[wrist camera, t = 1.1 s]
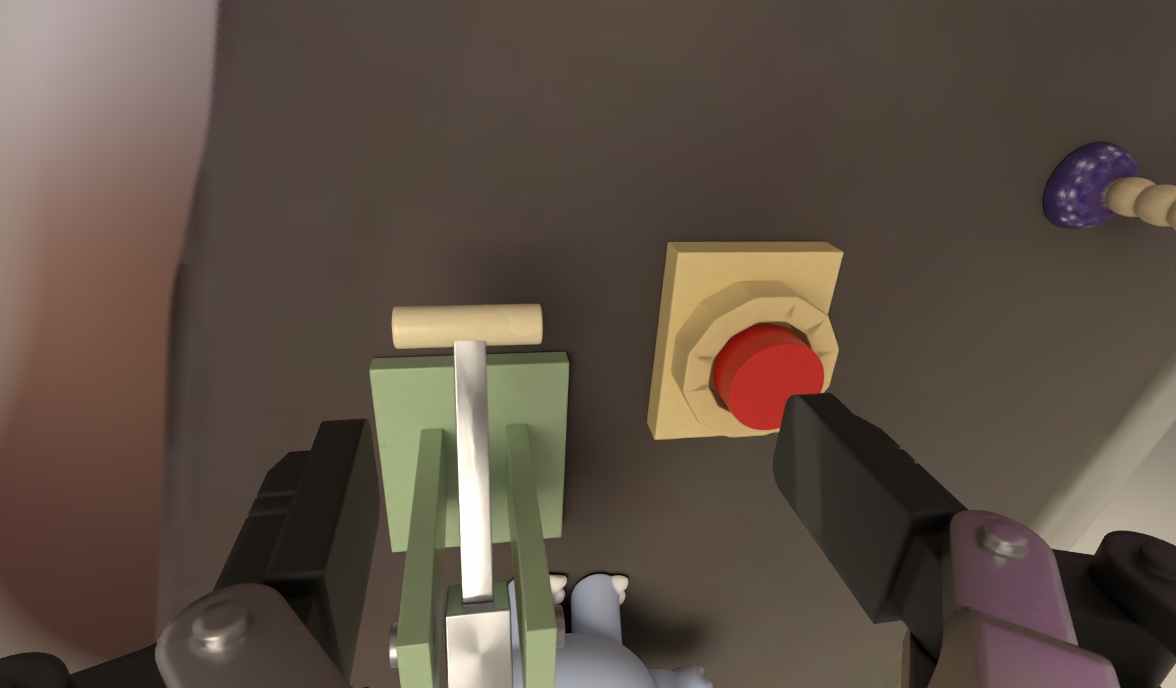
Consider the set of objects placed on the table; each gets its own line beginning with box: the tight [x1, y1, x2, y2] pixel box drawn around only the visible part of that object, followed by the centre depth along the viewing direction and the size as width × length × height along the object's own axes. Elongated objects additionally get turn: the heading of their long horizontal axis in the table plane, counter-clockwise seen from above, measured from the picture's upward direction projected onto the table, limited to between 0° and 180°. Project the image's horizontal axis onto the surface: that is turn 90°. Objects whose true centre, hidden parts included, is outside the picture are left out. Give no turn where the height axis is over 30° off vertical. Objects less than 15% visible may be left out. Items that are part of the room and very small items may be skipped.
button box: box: [647, 242, 843, 440], centre depth 29 cm, size 10×8×4 cm
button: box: [713, 324, 824, 430], centre depth 27 cm, size 4×4×2 cm
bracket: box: [369, 352, 569, 688], centre depth 26 cm, size 11×9×13 cm
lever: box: [392, 304, 543, 688], centre depth 21 cm, size 13×5×2 cm, turn 177°
